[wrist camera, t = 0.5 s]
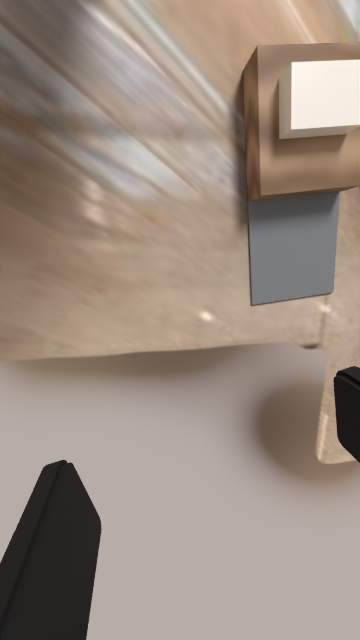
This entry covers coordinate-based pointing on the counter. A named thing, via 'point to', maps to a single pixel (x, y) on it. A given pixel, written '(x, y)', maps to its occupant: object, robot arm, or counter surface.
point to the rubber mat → (292, 246)
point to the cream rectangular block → (319, 98)
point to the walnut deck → (294, 153)
